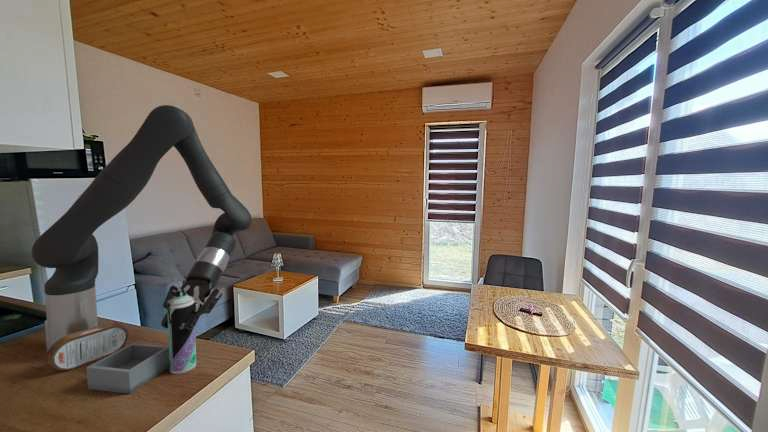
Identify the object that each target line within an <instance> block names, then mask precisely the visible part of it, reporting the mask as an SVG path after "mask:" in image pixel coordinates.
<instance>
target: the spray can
mask: <svg viewBox="0 0 768 432" xmlns="http://www.w3.org/2000/svg"><path fill="white" fill-rule="evenodd" d="M167 303H168V304H167V309H166V311H167V312H166V313H167V315H168V328H167V335H168V346H169V360H170V366H169V372H170V374H173V375H181V374H185V373H187V372H188V373H189V371H191V370H193V369H194V368H195V367H196V366H197V346H196V345H197V344H196V343H197V342H196V325H195V326H194V328H192V330H186V329H185V328H184V325H185V323H186V321H187V319H188V317H189V315H190V314H191V312H192V313H193V306H194V301H193V297H192V296H188V295H187V294H186V293H185V290H184V289H183V290H179V291H176V294H175V295H174V297H173V298H172V299H170V300H169V301H168V302H167Z"/></svg>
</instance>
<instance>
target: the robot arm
mask: <svg viewBox="0 0 768 432" xmlns="http://www.w3.org/2000/svg"><path fill="white" fill-rule="evenodd" d="M172 148H174V149H176V150H177V151H178V153H179V155H180V157H181V158H182V159H183V161H184V162H185V164H186V166H187V168H188V171H189V172H190V174H191V176H192V180H193V182H194V183H195V185H196V187H197V189H198V190H199V192H200V194H201V195H202V196H203V199H204V200H205V201H206V203H207V204H208V205H209V206H210V207H211V208H213V209H220V210H222V211H223V213H222V214H220V215H219V216H218V217H217V218H216V220H215V222H214V225H213V229H212V232H211V237H210V239H209V240H208V242H207V243H206V245H205V246H204V248H203V250H201V252H200V253H199V255H198V257H197V258H196V260H195V262H194V263H193V265H192V267H191V269H190V270H189V272H188V273H187V274H186V275H187V276H186V281H185V282H184V283H183V284H182V285H181V286H176V285H170V286H169V288H168V291H167V293H166V296H165V299H164V301H163V304H162V307H163V308H164V309H165V310H167V304H168V303H167V302H168V301H169V300H170V299H172V298H173V297H174V295H175V294H176V291H179V290H183V289H184V290H185V293H186V294H187V295H188V296H192V297H193V301H194V306H193V313H192V312H191V314H190V315H189V317H188V319H187V321H186V323H185V325H184V328H185V329H186V330H192V328H194V326H195V327H196V324H197V323H198V322H199V321H198V320H199V319H200V316H202V315H205V314H206V315H210V313H211V312H212V310H213V309H214V307H215V306H216V305H217V304H218V302H219V300H220V299H221V298H222V297H223V292H222V291H221V290H219V289H218V288H215V287H216V286H217V285H218V283H219V282H220V279H221V277H222V276H223V273H224V271H225V270H226V267H227V265H228V263H229V260H230V257H231V256H232V254H233V252H234V249H235V248H236V245H237V240H236V238H235V237H234V234H236V233H240V232H244V231H247V230H249V228H251V226H252V223H253V219H252V215H251V213H250V211H249V210H248V208H247V207H246V206H245V205H244V204H243V203H241V201H240V200H239V199H238V198H237V197H235V195H233V193H232V192H231V191H230V189H229V187H228V186H227V183H226V182H225V180H224V178H223V177H222V176H221V174H220V173H219V171H218V170H217V168H216V167H215V165H214V164H213V162H212V160H211V159H210V157H209V156H208V154H207V152H206V151H205V149H204V146H203V145H202V141H201V140H200V138H199V135H198V133H197V130H196V127H195V125H194V121H193V119H192V118H191V116H190V115H189V114H188V113H187V112H185V111H184V110H183V109H181V108H178V107H176V106H174V105H170V104H169V105H167V104H164V105H159V106H156V107H155V108H153V109H152V110H151V111H150V112H149V114H148V115H147V116H146V118H145V120H144V121H143V122H142V124H141V125H140V127H139V129H138V131H136V133H135V134H134V136H133V137H132V139H131V140H130V141H129V142H128V143H127V144H126V145H125V146H124V147H123V148H122V149H121V150H120V151H119V152H118V153H117V154H116V155H115V156H114V157H113V158H112V159H111V161H109V162H108V163H107V164H106V165H105V167H103V168H102V170H101V171H99V173H98V175H97V176H96V177H95V178H93V180H92V182H90V184H89V185H88V186H87V188H86V189H85V190H84V191H83V192H82V193H81V195H79V197H77V199H76V200H75V201H74V202H73V204H72V205H71V206H70V208H69V209H68V210H66V212H65V213H64V214H63V215H62V216H60V218H59V219H58V220H56V221H55V222H54V223H53V224H52V225H51V226H49V228H48V229H46V230H45V231H44V232H43V233H42V234H40V236H39V237H38V238H37V239H36V240H35V241H34V243H33V244H32V248H31V256H32V259H33V261H34V262H35V263H36V264H37V265H38V266H40V267H42V268H45V269H46V268H48V269H55V271H54V272H53V274H52V275H51V276H50V278H48V279H47V281H46V282H45V283H44V286H43V288H44V289H43V290H44V301H45V310H46V311H45V313H46V320H45V321H44V333H45V343H46V353H47V352H48V350H49V348H50V347H51V346H52V345H53V344H54V343H55V342H56V341H58V340H59V339H60V338H62V337H64V336H66V335H69V334H72V333H76V332H80V331H83V330H87V329H90V328H93V327H97V326H99V323H98V322H99V321H98V309H97V308H98V307H97V293H96V292H97V291H96V278H97V277H98V275H99V244H98V241H97V238H96V237H95V235H94V232H95V231H96V230H97V229H98V228H100V227H101V226H102V225H103V224H105V223H107V221H110V220H111V219H112V218H114V217H115V216H116V215H117V214H119V213H120V212H122V211H123V210H124V209H126V208H127V207H128V206H129V205H131V203H132V202H133V201H134V200H136V198H137V197H138V196H139V195H140V193H141V192H142V191H143V190H144V189H145V187H146V186H147V185H148V183H149V181H150V180H151V177H153V174H154V172H155V169H156V168H157V165H158V164H159V162H160V161H161V160H162V158H163V157H164V156H165V155H166V154H167V153H168V152H169V151H170V150H171V149H172ZM160 326H161V327H162V328H164V329H168V315H167V312H166V313H165V315H164V316H163V318H162V320H161V325H160Z"/></svg>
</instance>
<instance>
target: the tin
mask: <svg viewBox="0 0 768 432" xmlns="http://www.w3.org/2000/svg"><path fill="white" fill-rule="evenodd" d="M128 338H129V332H128V329H127V328H126V327H124V326H123V325H122V324H121V323H118V322H107V323H105V324H101V325H98V326H97V327H93V328H90V329H87V330H83V331H80V332H76V333H72V334H69V335H66V336H64V337H62V338H60V339H59V340H58V341H56V342H55V343H54V344H53V345H52V346H51V347H50V348H49V350H48V352H47V351H46V357H45V358H46V362H47V364H48V365H49V366H50V367H52V368H53V369H54V370H58V371H70V370H74V369H76V368H77V369H78V368H79V367H82V366H85V365H87V364H90V363H92V362H95V361H96V362H97V361H100V360H102V359H104V358H105V357H107V356H109V355H111V354H113V353H115V352H117V351H119V350H121V349H122V348H124V347H125V345H126V344H127V341H128V340H129V339H128Z"/></svg>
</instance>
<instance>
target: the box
mask: <svg viewBox="0 0 768 432" xmlns="http://www.w3.org/2000/svg"><path fill="white" fill-rule="evenodd" d="M168 368H170V360H169V345H158V344H148V343H147V344H146V343H139V342H138V343H137V342H132V343H130V344H128V345H126V346H123V347H122V348H121V349H120V350H119V351H117V352H115V353H113V354H111V355H109V356H107V357H104V358H101V359H99V360H97V361H96V362H94V363H92V364H91V365H88V366H87V367H86V379H87V380H86V381H87V389H89V390H95V391H103V392H111V393H112V392H113V393H121V394H126V395H127V394H128V395H129V394H133V393H134V392H135V391H137V390H138V389H139V388H141V387H142V386H144V385H145V384H147V383H148V382H149V381H151V380H152V379H154V378H155V377H157V376H158V375H160V374H161V373H162V372H164V371H165V370H167V369H168Z"/></svg>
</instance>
